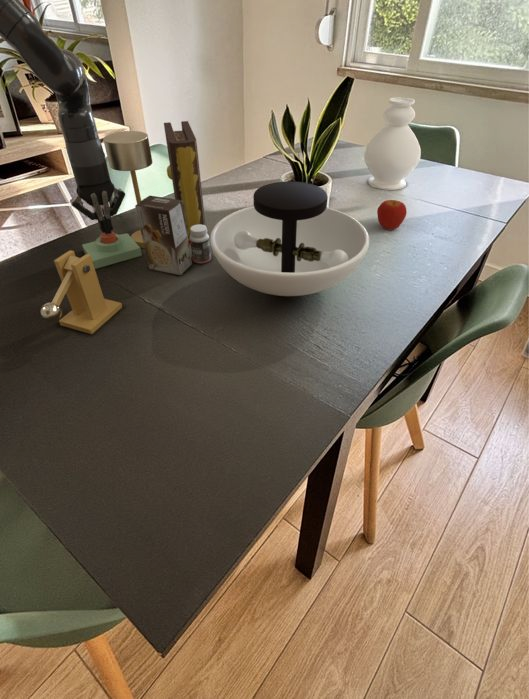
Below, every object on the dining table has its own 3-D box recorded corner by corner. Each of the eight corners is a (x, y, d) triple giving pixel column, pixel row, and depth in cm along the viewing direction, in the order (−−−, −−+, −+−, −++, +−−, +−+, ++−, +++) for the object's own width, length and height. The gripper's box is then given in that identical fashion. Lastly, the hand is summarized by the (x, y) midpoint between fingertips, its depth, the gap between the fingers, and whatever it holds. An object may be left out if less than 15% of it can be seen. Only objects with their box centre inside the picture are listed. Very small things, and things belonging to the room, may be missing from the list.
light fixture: (221, 339, 84) (211, 239, 70) (210, 256, 108) (202, 171, 94) (382, 321, 87) (403, 224, 73) (336, 246, 112) (346, 162, 98)
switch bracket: (91, 334, 85) (70, 274, 76) (60, 325, 87) (36, 266, 78) (122, 307, 92) (106, 249, 83) (92, 299, 94) (73, 242, 85)
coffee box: (193, 263, 106) (184, 199, 95) (180, 276, 101) (169, 211, 91) (161, 256, 108) (149, 194, 98) (147, 269, 104) (133, 205, 93)
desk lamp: (135, 253, 110) (110, 145, 93) (123, 238, 116) (97, 135, 99) (171, 243, 114) (154, 138, 97) (157, 229, 120) (138, 128, 103)
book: (211, 241, 115) (202, 141, 98) (180, 245, 113) (164, 144, 97) (200, 208, 131) (190, 118, 114) (172, 211, 129) (158, 120, 113)
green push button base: (95, 269, 104) (90, 254, 101) (84, 252, 110) (79, 238, 108) (142, 255, 109) (138, 241, 106) (129, 240, 115) (125, 226, 113)
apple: (402, 222, 122) (407, 195, 117) (403, 234, 116) (410, 207, 111) (374, 220, 123) (379, 193, 118) (375, 232, 117) (379, 205, 112)
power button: (104, 245, 105) (102, 239, 104) (100, 240, 108) (98, 233, 107) (118, 242, 107) (117, 235, 106) (114, 236, 109) (112, 230, 108)
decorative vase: (423, 182, 146) (443, 99, 129) (396, 197, 136) (414, 109, 119) (378, 170, 155) (391, 91, 138) (350, 183, 145) (360, 100, 129)
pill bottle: (188, 260, 107) (183, 229, 101) (200, 252, 110) (197, 221, 104) (202, 265, 105) (199, 234, 99) (215, 257, 108) (212, 226, 102)
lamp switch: (60, 326, 80) (47, 318, 76) (45, 322, 81) (32, 314, 77) (91, 266, 83) (80, 256, 80) (76, 262, 84) (65, 252, 81)
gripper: (111, 150, 99) (128, 220, 111) (52, 160, 94) (76, 233, 106) (122, 158, 95) (138, 231, 106) (60, 170, 89) (84, 245, 101)
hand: (107, 232), depth 106 cm, fingers closed
